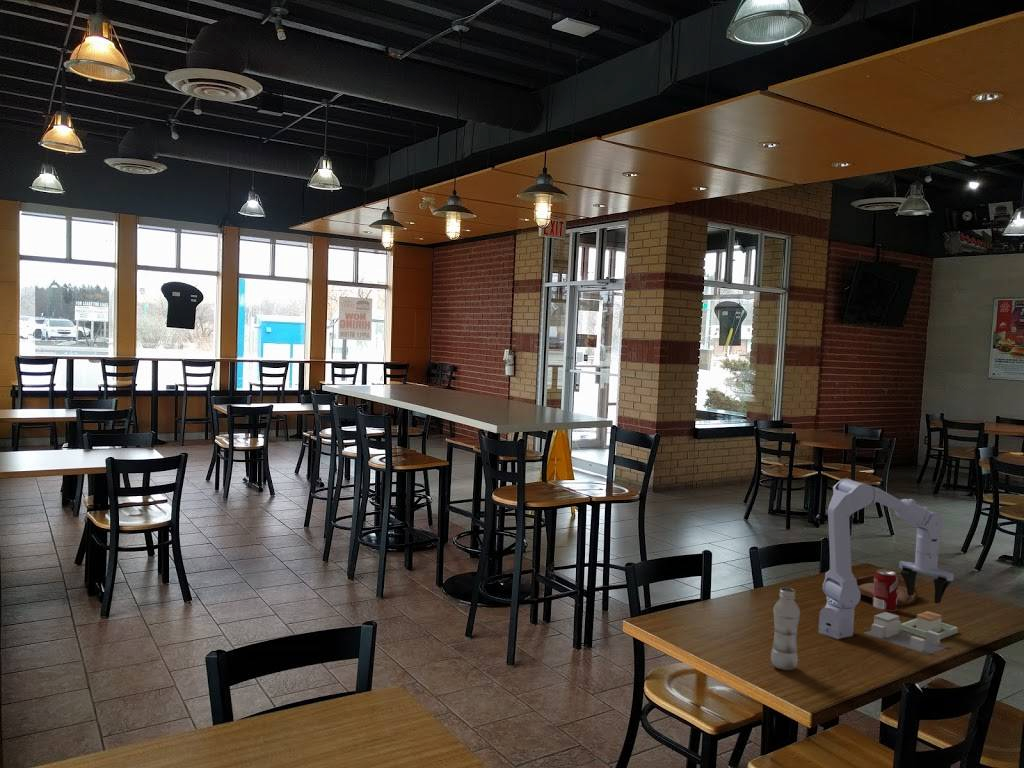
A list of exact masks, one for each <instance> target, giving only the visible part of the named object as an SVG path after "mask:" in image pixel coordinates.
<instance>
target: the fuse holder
mask: <svg viewBox="0 0 1024 768" xmlns="http://www.w3.org/2000/svg"><path fill="white" fill-rule="evenodd" d="M901 624H902V622H901V620H899V629H898V634H895V635H893V636H890V637H884V636H885V627H884V626H881V625H878V624H875V623H874V622H873V623H871V628H870V630H867V631H865V632H863V634H866V635H868V636H871V637H874V638H877V639H880V640H883V641H886V642H887V643H888V642H889V643H892V644H894V645H897V646H899V647H900V646H901V647H903V648H906V649H909V650H912V651H915V652H917V653H921V654H924V655H927V656H929V655H932V654H935V653H937V652H938V651H942V650H944V649H947V648H948V647H949V646H948V645H944V644H941V639H940V633H941V632H938V633H936V632H933V631H930V630H929V631H926V638H924V637H923V638H922V637H921V636H918V635H915V634H914V635H913V634H912V633H909V632H906V631H903V630H901V629H900V627H901Z"/></svg>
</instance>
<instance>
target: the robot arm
mask: <svg viewBox="0 0 1024 768" xmlns="http://www.w3.org/2000/svg"><path fill="white" fill-rule="evenodd" d="M871 503H872V504H876V503H879V504H881V505H883V506H885V507H888V508H890V509H891V510H894V513H895V516H896V517H898V518H899V519H902V521H903V520H904V521H905V522H907V523H910V524H912V525H913V527H915V528H916V538H915V539H916V540H915V554H914V555H915V556H914V562H911V561H910V562H909V561H904V560H900V561H899V563H898V564H899V565H898V568H899V569H901V570H900V575H901V576H902V580H904V581H905V584H906V588H907V592H908V595H909V596H911V595H914V589H915V588H916V586H915V583H916V578H917V574H918V573H919V574H923V575H927V576H931V577H935V578H934V579H933V585H934V599H933V600H934V604H937V605H938V604H941V602H942V598H943V596H944V594H945V591H946V590H947V588H948V586H949V585H950V584H951V583H952V581H954V579H955V577H954V573H952V572H950V571H946V570H944V569H941V568H939V567H938V564H939V563H938V561H939V547H940V538H941V535H942V532H943V530H944V529H945V528H946V523H945V522H944V519H943V517H942V515H941V514H939V513H937V512H933V511H931V510H929V508H930V507H927V506H925V505H924V506H922V505H920V504H917V503H916V500H915V499H913V498H909V499H908V498H902V499H899V498H897V497H895V496H894V495H891V494H890V493H888V492H886V491H884V490H883V489H881V488H879V487H875V486H872V485H870V484H867V483H862V482H860V481H855V480H853V479H850V478H842V479H840V480H839V481H838V482H836V484H834V485H833V486H832V496H831V499H830V502H829V503H828V504H829V505H828V508H827V517H828V518H827V521H828V545H829V565H830V568H829V570H828V571H826V572H825V573H824V581H823V583H822V592H823V593H824V595H825V597H826V604H825V606H824V607H823V608H821V610H820V611H819V617H818V619H819V620H818V633H819V634H821V635H824V636H827V637H830V638H833V639H835V640H840V639H843V638H849V637H853V636H854V623H855V608H856V606H857V605H858V604H859V602H860V601H861V595H862V594H861V593H860V590H859V589H858V587H857V580H856V577H855V575H854V574H853V571H852V553H851V551H852V550H851V529H850V517H851V516H852V515H853V514H854V513H856V512H858V511H860V510H862V509H864V508H865V507H868V506H869V505H870V504H871Z"/></svg>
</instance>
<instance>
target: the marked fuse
mask: <svg viewBox="0 0 1024 768" xmlns="http://www.w3.org/2000/svg"><path fill="white" fill-rule="evenodd" d="M916 618H917V620H916V625H915V628H917V629H920V630H923V631H929V630H930V631H933V632H936V633H941V632H942V631H941V630H942V629H941V623H942V614H938V613H935V612H932V611H928V610H926V611H924V612H921V613H918V614H916Z"/></svg>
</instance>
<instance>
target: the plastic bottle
mask: <svg viewBox="0 0 1024 768" xmlns="http://www.w3.org/2000/svg"><path fill="white" fill-rule="evenodd" d="M778 595H779V596H778V597H779V599H778V600H777V601H776V603H775V604H774V606H773V610H772V611H773V620H774V622H773V624H774V629H773V630H774V632H773V633H774V636H773V641H772V642H773V643H772V649H771V651H770V652H771V653H770V662H771V664H772V666H773V667H775V668H776V669H779V670H782V671H793V670H795V669H796V668H797V666H798V662H799V657H798V652H797V651H798V649H797V644H798V643H797V636H798V626H799V622H800V617H801V610H800V608H799V605H797V602H796V601H795V600H796V590H795V589H793V588H790V587H781V588H780V589H779V594H778Z"/></svg>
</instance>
